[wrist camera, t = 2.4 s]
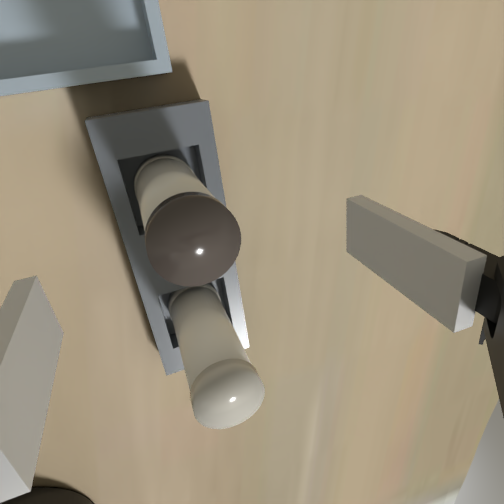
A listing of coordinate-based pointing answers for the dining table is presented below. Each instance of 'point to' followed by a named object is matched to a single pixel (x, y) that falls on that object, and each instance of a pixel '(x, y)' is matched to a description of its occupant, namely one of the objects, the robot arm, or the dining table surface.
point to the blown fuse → (184, 223)
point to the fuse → (213, 359)
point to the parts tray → (78, 43)
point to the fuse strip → (128, 211)
